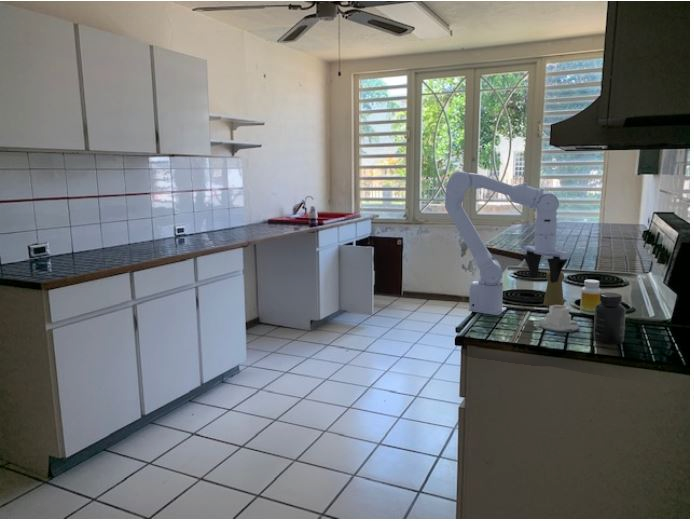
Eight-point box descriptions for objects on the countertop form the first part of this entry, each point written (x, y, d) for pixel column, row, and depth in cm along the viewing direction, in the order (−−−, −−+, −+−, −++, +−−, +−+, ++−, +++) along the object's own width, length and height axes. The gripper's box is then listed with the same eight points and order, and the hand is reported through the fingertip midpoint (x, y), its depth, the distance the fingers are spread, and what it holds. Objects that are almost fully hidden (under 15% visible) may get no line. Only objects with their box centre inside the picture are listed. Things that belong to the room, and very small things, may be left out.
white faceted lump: (557, 326, 134) (558, 309, 134) (545, 322, 138) (546, 305, 138) (571, 323, 136) (572, 307, 136) (558, 319, 140) (559, 303, 140)
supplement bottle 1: (602, 315, 146) (604, 283, 144) (582, 314, 147) (584, 282, 145) (597, 310, 151) (599, 279, 149) (578, 309, 152) (579, 278, 150)
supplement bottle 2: (610, 334, 130) (614, 290, 128) (629, 343, 124) (633, 297, 121) (587, 337, 129) (590, 292, 127) (604, 346, 122) (608, 299, 120)
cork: (567, 307, 155) (569, 272, 153) (547, 307, 155) (549, 273, 153) (559, 302, 161) (561, 268, 159) (540, 302, 161) (542, 269, 159)
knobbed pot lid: (534, 328, 136) (535, 317, 136) (543, 318, 144) (544, 308, 144) (574, 334, 131) (574, 323, 130) (581, 324, 139) (582, 313, 138)
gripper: (576, 235, 140) (573, 282, 143) (536, 230, 153) (535, 273, 156) (557, 237, 137) (555, 285, 140) (519, 232, 150) (518, 276, 153)
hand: (543, 279), depth 148 cm, fingers open, 7 cm apart
